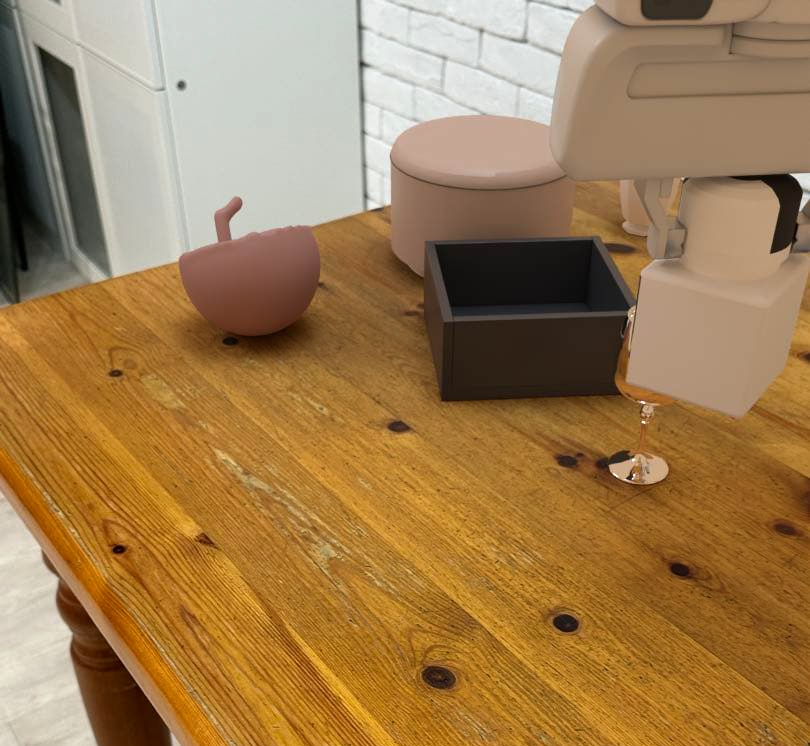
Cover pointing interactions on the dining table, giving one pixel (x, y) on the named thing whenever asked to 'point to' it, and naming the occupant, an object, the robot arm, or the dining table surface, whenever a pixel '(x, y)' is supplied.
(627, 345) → the wineglass
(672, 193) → the cup
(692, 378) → the medicine bottle
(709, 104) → the robot arm
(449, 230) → the container
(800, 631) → the dining table surface
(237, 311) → the coconut drink
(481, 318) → the black bin
